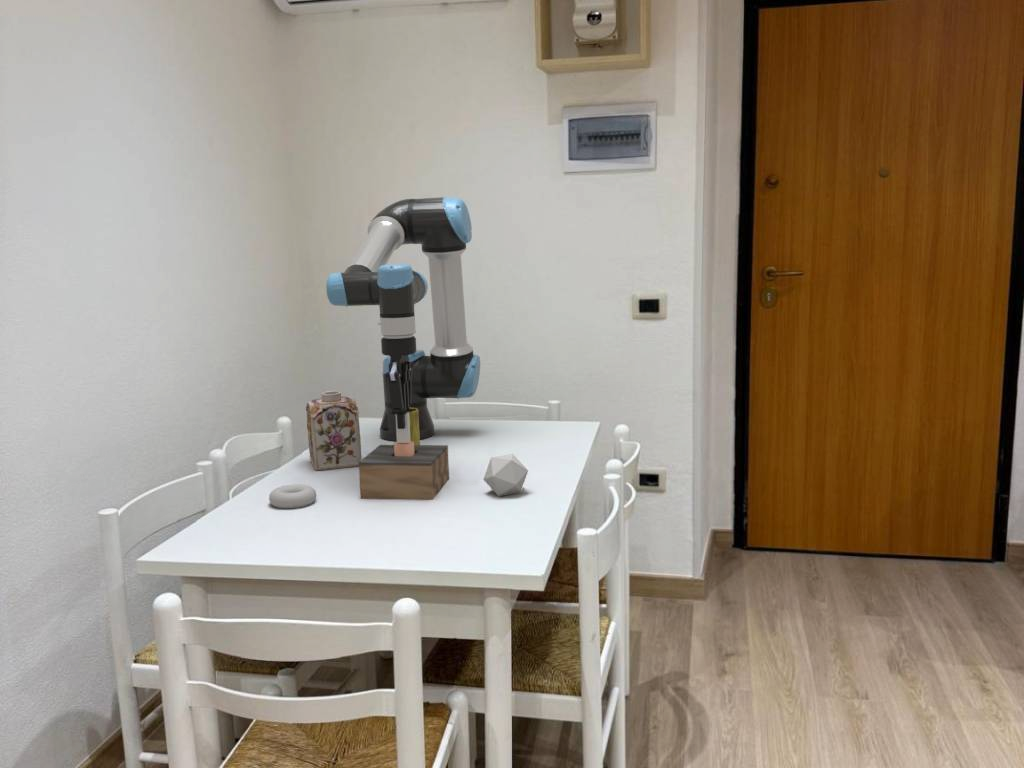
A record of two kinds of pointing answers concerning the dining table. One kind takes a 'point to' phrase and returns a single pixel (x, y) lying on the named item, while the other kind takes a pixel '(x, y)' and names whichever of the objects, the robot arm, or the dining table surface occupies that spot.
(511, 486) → the die
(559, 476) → the dining table surface
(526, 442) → the dining table surface
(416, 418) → the vase
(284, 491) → the donut
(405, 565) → the dining table surface
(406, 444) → the peg
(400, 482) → the socket block
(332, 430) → the decorative jar
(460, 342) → the robot arm
